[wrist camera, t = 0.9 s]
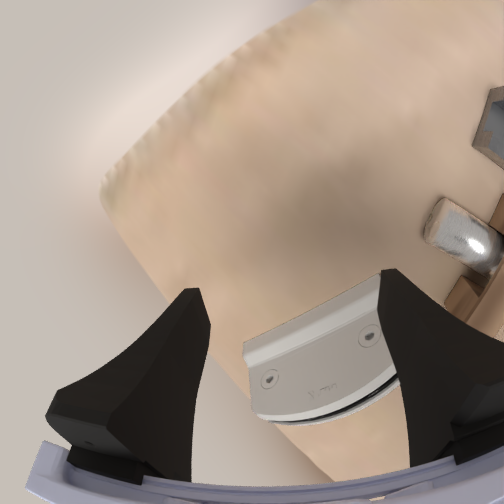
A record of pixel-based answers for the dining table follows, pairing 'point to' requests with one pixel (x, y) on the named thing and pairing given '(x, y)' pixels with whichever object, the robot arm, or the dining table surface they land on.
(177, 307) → the robot arm
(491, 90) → the v block
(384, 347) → the hinge
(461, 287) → the beam
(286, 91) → the dining table surface
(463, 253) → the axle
